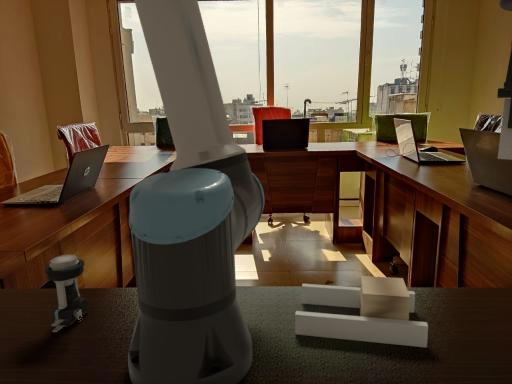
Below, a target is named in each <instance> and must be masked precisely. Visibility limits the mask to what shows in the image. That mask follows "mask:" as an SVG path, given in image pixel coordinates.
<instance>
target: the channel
mask: <svg viewBox="0 0 512 384" xmlns="http://www.w3.org/2000/svg"><path fill="white" fill-rule="evenodd" d="M301 285H302V286H301V304H304V305H315V306H328V307H330V306H331V307H341V308H342V307H343V308H350V309H351V308H354V309H360V288H361V287H358V286H357V287H356V286H355V287H354V286H341V285H329V284H328V285H327V284H313V283H312V284H311V283H302V284H301ZM408 293H409V296H410V306H409V313H415V303H416V292H415V291H414V290H413V291H412V290H408ZM294 323H295V324H294V327H295V328H294V329H295V331H294V333H295V335H297V336H298V335H299V336H307V337H308V336H309V337H310V336H311V337H317V338H318V337H320V338H329V339H338V340H349V341H357V342H358V341H360V342H369V343H379V344H388V345H389V344H390V345H396V346H397V345H400V346H409V347H417V348H428V335H429V325H428V322H426V321H418V320H417V321H416V320H409V321H406V320H395V319H383V318H372V317H360V315H347V314H338V313H337V314H334V313H324V312H313V311H301V310H296V311H295V315H294Z"/></svg>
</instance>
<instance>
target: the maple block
mask: <svg viewBox="0 0 512 384" xmlns="http://www.w3.org/2000/svg"><path fill="white" fill-rule="evenodd" d="M359 288H360V308H359V316H360V317H372V318H383V319H395V320H406V321H410V312H409V306H410V296H409V293H408V291H409V290H408V287H407V285H406V283H405V280H404V278H403V277H389V276H388V277H387V276H371V275H360V287H359Z"/></svg>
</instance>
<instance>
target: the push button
mask: <svg viewBox="0 0 512 384" xmlns="http://www.w3.org/2000/svg"><path fill="white" fill-rule="evenodd" d="M84 267H85V260H83V259H81V258H78V257H77V255H75V254H63V255H59V256H56V257H54V258H52V259H50V263H49V264H48V265H46V266H45V267H44V270H43V271H44V273H45V274H46V278H47V280H48V281H53V282H54V284H55V287H56V294H57V306H58V309H56V310H55V312H54V317H55V320H54V322H53V323H52V324H51V325H50V326H51V327H55V328H54V329H53V330H51V331H52V333H57V332H58V331H60V330H61V329H64V328H63V327H64V326H68V325H69V324H70V323H71V322H73V321H74V320H75V319H76V318H77V319H78V320H80V319H81V318H80V319H79V316H81V317H83V316H82V313H83V314H84V313H85V312H86V311H88V312H89V309H88V300H87V298H81V294H80V292H79V290H80V289H79V284H78V278H79V277H80V276H81V275H82V274H83V273H84V272H85V271H84V270H85V268H84ZM80 321H81V320H80ZM57 325H58V326H57Z"/></svg>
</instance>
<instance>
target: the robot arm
mask: <svg viewBox="0 0 512 384" xmlns="http://www.w3.org/2000/svg"><path fill="white" fill-rule="evenodd" d="M133 1H134V3H135V7H136V10H137V11H136V12H137V16H138V18H139V22H140V26H141V29H142V33H143V37H144V40H145V44H146V49H147V51H148V55H149V58H150V61H151V66H152V70H153V72H154V76H155V80H156V83H157V88H158V90H159V94H160V98H161V101H162V105H163V109H164V112H165V113H164V114H165V117H166V120H167V123H168V128H169V130H170V134H171V137H172V138H171V139H172V142H173V145H174V148H175V153H176V157H175V159H174V161H173V162H172V164H171V166H170V168H169V171H168V172H160V173H156V174H153V175H150V176H148V177H146V178H144V179H142V180H140V181H139V182H137V183H136V184H135V185H134V186H133V188H132V190H131V192H130V195H129V213H128V225H129V228H130V235H131V242H132V243H131V244H132V253H133V262H134V272H135V281H136V291H137V301H138V314H137V318H136V321H135V325H134V329H133V333H132V336H131V337H132V338H131V340H130V341H131V342H130V345H129V350H128V355H127V356H128V357H127V363H128V373H129V379H130V382H131V384H239V383H240V382H241V381H242V380H243V379H244V378H245V376H246V375H247V374H248V372H249V371H250V369H251V367H252V364H253V340H252V336H251V332H250V330H249V327H248V325H247V322H246V320H245V318H244V315H243V313H242V309H241V307H240V305H239V302H238V299H237V286H236V285H237V283H236V282H237V280H236V257H235V256H236V254H235V253H236V250H237V249H238V248H239V247H240V246H241V244H242V243H243V242H244V241H245V239H246V238H247V237H248V236H249V235H250V234H251V233H252V232H253V231H255V229H256V228H257V225H258V224H259V222H260V220H261V219H262V215H263V212H264V209H265V208H264V207H265V193H264V189H263V186H262V184H261V182H260V180H259V178H258V177H257V175H255V174H254V173H253V172H252V169H251V165H250V162H249V159H248V154H247V151H246V149H245V148H244V147H242V146H240V145H239V144H237V143H236V142H235V141H234V140H233V134H232V132H231V128H230V124H229V119H228V115H227V111H226V107H225V104H224V101H223V96H222V92H221V89H220V88H221V87H220V84H219V80H218V77H217V72H216V68H215V65H214V64H215V63H214V60H213V57H212V53H211V48H210V44H209V41H208V38H207V34H206V28H205V25H204V21H203V17H202V14H201V10H200V5H199V0H133ZM499 7H500V9H502V10H503V11H508V12H512V0H499ZM510 45H511V47H510V48H511V49H510V55H509V60H508V66H507V69H506V78H505V81H504V82H503V88H502V87H501V88H500V87H499V88H497V95H496V97H497V99H504V102H503V110H502V117H501V119H502V120H501V126H500V127H501V128H500V133H499V134H500V136H499V141H498V142H499V144H498V152H497V160H512V41H511V44H510Z"/></svg>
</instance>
